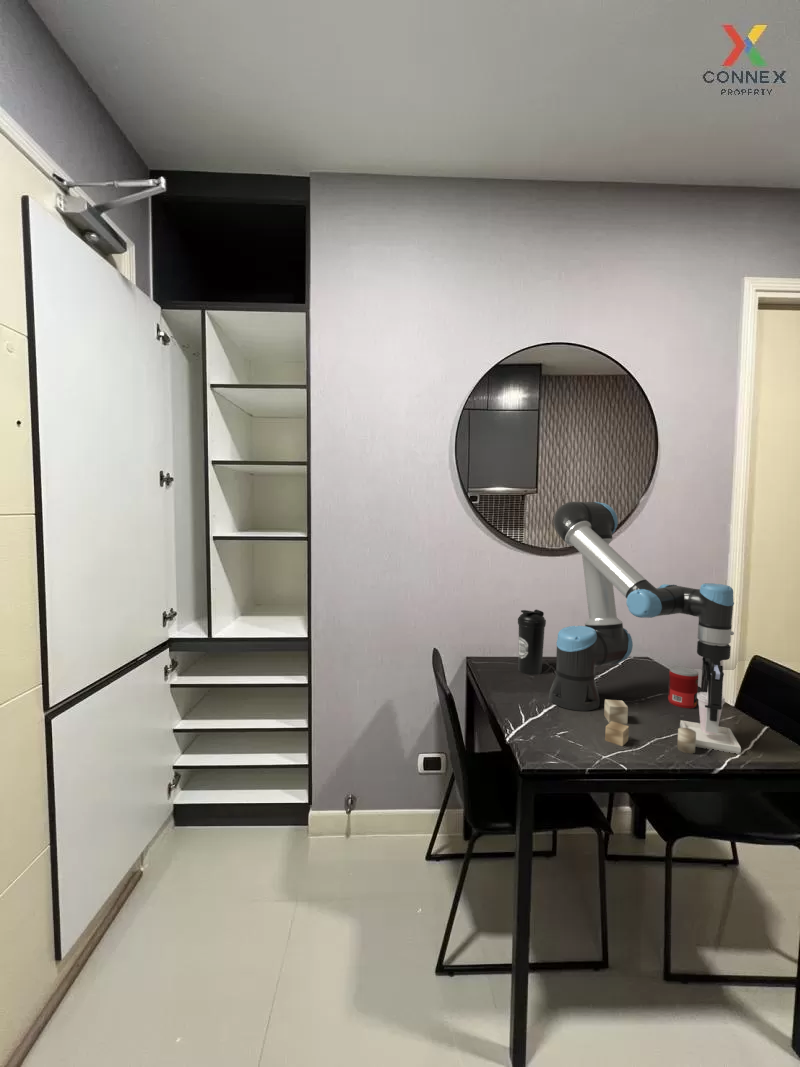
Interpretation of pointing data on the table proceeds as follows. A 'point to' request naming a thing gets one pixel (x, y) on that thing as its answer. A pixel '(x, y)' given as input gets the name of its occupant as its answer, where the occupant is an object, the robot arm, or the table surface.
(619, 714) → the birch cube
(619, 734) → the oak block
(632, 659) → the table surface
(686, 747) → the birch dowel
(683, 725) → the tray
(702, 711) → the smoothie
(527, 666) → the water bottle
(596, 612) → the robot arm
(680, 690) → the canned food
